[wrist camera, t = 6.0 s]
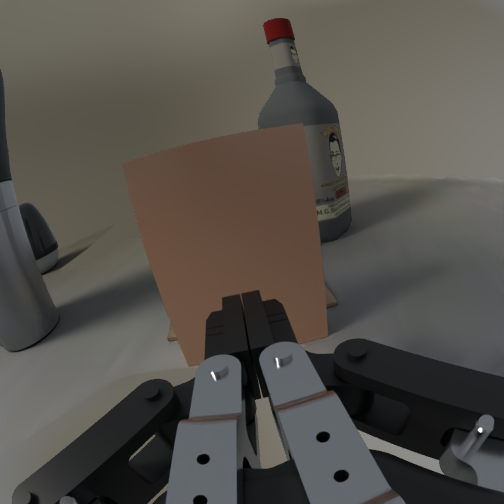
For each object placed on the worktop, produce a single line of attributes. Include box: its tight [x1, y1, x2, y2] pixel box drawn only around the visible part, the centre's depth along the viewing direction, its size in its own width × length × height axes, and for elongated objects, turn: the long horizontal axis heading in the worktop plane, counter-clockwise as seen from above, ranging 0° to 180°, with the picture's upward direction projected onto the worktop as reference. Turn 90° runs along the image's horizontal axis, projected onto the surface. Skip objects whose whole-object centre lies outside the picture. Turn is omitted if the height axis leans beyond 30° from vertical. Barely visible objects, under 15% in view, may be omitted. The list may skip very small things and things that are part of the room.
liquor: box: [258, 18, 352, 243], centre depth 35 cm, size 9×9×30 cm
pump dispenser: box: [19, 202, 58, 274], centre depth 48 cm, size 10×10×15 cm
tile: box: [122, 123, 328, 366], centre depth 18 cm, size 10×2×14 cm, turn 96°
